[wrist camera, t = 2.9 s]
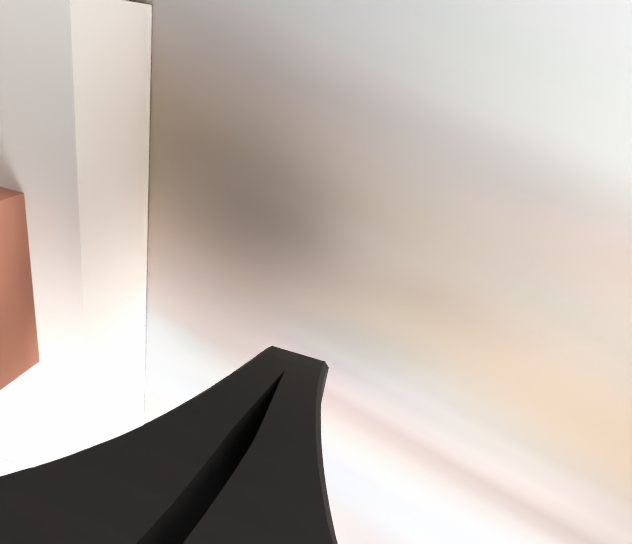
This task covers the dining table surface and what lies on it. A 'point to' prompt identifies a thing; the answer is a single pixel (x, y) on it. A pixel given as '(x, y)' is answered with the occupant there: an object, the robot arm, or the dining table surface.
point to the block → (15, 291)
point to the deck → (78, 216)
